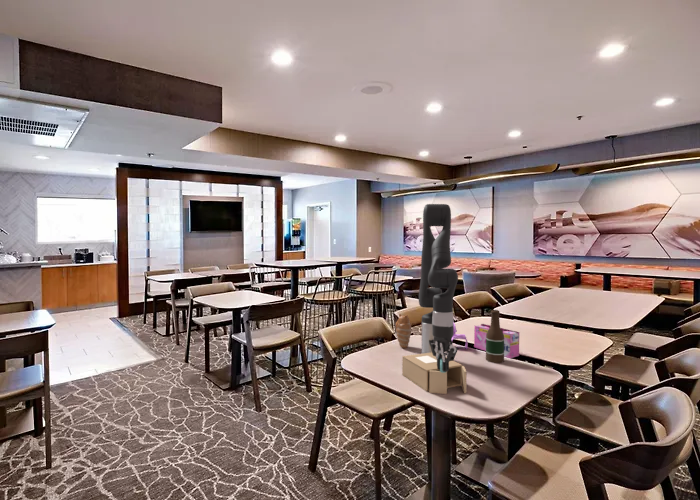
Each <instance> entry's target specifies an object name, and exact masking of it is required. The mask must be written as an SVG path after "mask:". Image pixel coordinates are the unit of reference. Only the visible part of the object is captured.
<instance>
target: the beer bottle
mask: <svg viewBox="0 0 700 500" xmlns="http://www.w3.org/2000/svg"><path fill="white" fill-rule="evenodd" d="M490 313H491V315H490V317H491V318H490V324H489V325H490V328H489V330H488V331H487V334H486V351H485V360H486V361H487V362H488V363H493V364H502V363H503V362H505V357H504V334H503V332H502V330H501V329H500V328H501V325H500V324H501V323H500V314H501V312H500V310H498V309H491V310H490Z"/></svg>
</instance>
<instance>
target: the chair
mask: <svg viewBox="0 0 700 500" xmlns="http://www.w3.org/2000/svg"><path fill="white" fill-rule="evenodd" d="M457 331H458V330H457V328H456V323H455V322H454V335H453V337H452V342H453V340H459V339H460V340H465V345H464V346H465V349H466V350H468V347H469V346H468V345H469V344H468V342H469V341H468V338H467V336H466V334H465V333H463V334H460V333H459V334H458V333H457Z"/></svg>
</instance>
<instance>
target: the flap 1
mask: <svg viewBox="0 0 700 500" xmlns="http://www.w3.org/2000/svg"><path fill="white" fill-rule="evenodd" d="M442 362H443V358H441V359H440V371H431V370H430V378H429V391H428V392H429V393H430V394H441V395H442V394H443V395H447V394H448V388H447V372H443V371H442Z"/></svg>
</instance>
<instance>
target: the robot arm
mask: <svg viewBox="0 0 700 500" xmlns="http://www.w3.org/2000/svg"><path fill="white" fill-rule="evenodd" d="M451 210H452V209H451V207H450V205H449V204H446V203H429V204H428V203H427V204H425V205H424V206H423V210H422V250H421V261H420V262H421V263H420V271H421V272H420V283H419V290H418V305H419V306H420V307H421V308H424V309H425V308H428V309H430V308H431V309H432V310H431V311H430V312H428V313H426V314H425V313H424V314H423V315H422V316H421V354H423V353H431V352H432V354H433V356H436V359H437V369H439V370H440V359H441V358H443V362H442V371H443V372H447V371H448V370H449V361H455V357H456V356H457V352H458V351H459V349H458V347H455V346H454V345H453V341H452V337H453V335H454V323H455V322H454V307H453V306H454V304H453V303H454V295H455V291H456V288H457V283H458V281H459V274H458V272H457V271H456V270H455V269H453V268H448V267H450V265H451V263H452V256H451V255H452V254H451V233H452V231H451V230H452V228H451V226H452V211H451ZM431 227H442V229H441V230H440V232H439V234H438V236H436V237H435V236H434V234H433V232H432V229H431ZM429 286H430V287H429ZM442 289H447V290H445V292H443V291H442ZM446 357H447V358H446Z"/></svg>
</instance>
